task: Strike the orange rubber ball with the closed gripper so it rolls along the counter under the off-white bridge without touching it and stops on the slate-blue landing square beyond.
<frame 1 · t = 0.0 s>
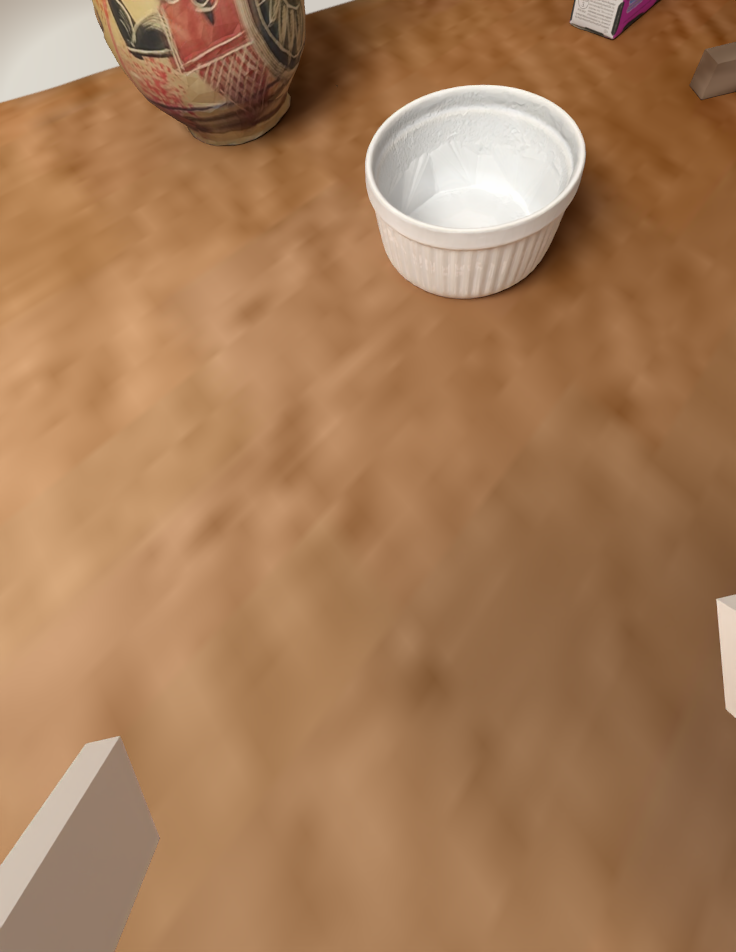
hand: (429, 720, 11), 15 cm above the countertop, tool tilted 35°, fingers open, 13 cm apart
candy bar box: (622, 7, 46), on the countertop
ceramic jug: (247, 117, 45), on the countertop
ramekin: (463, 246, 37), on the countertop
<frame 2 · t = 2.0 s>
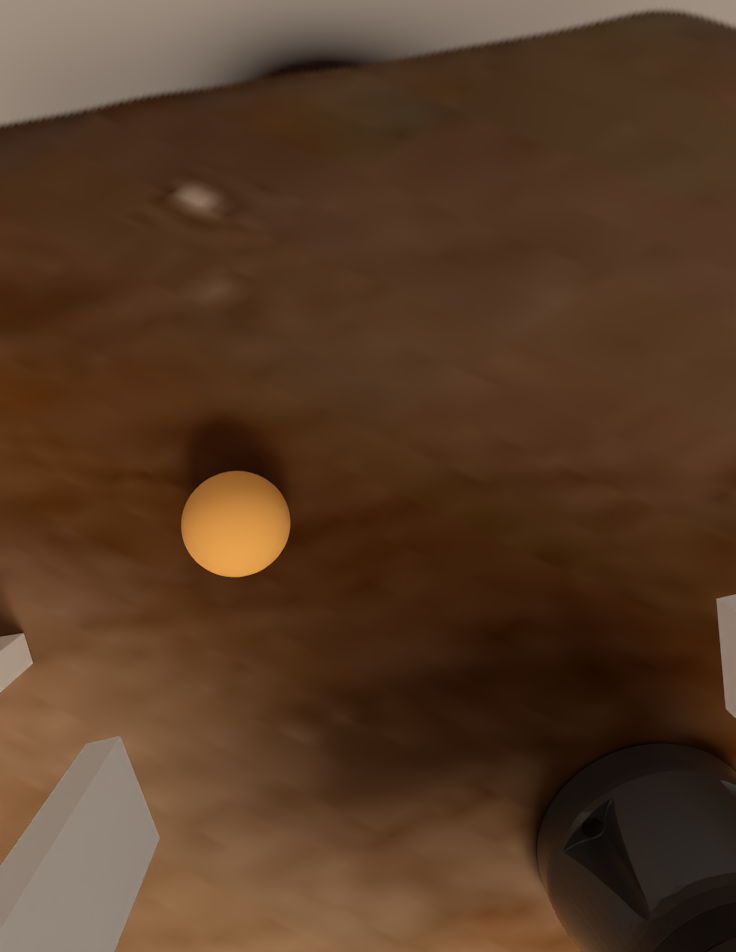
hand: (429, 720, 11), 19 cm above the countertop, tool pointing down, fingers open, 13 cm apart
ball: (237, 523, 26), on the countertop
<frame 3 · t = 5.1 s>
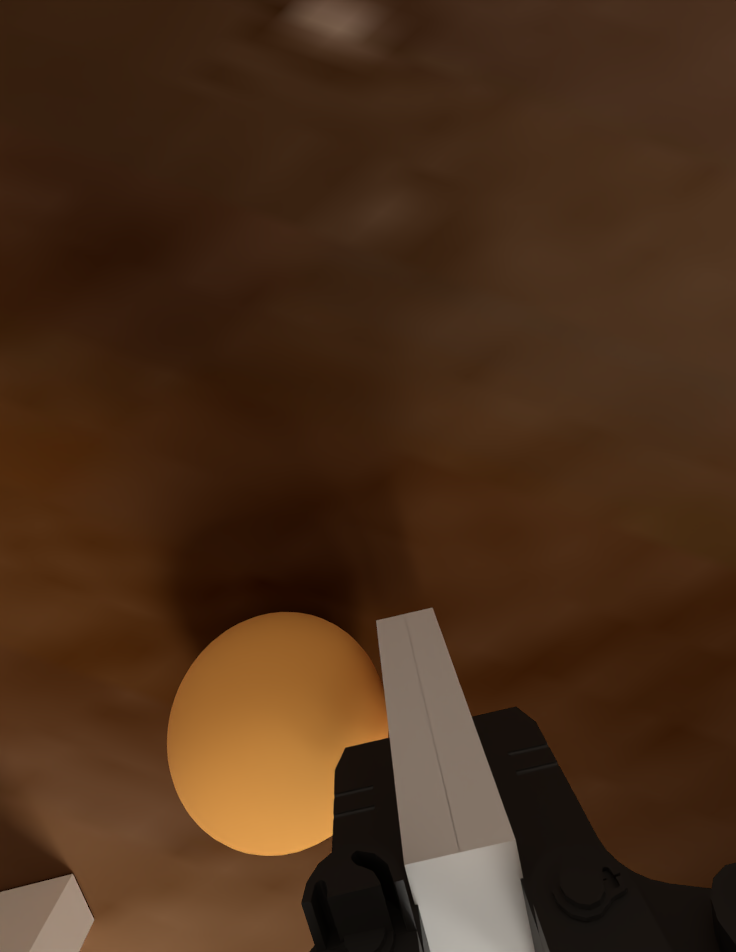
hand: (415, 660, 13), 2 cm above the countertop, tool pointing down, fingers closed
ball: (281, 722, 13), on the countertop
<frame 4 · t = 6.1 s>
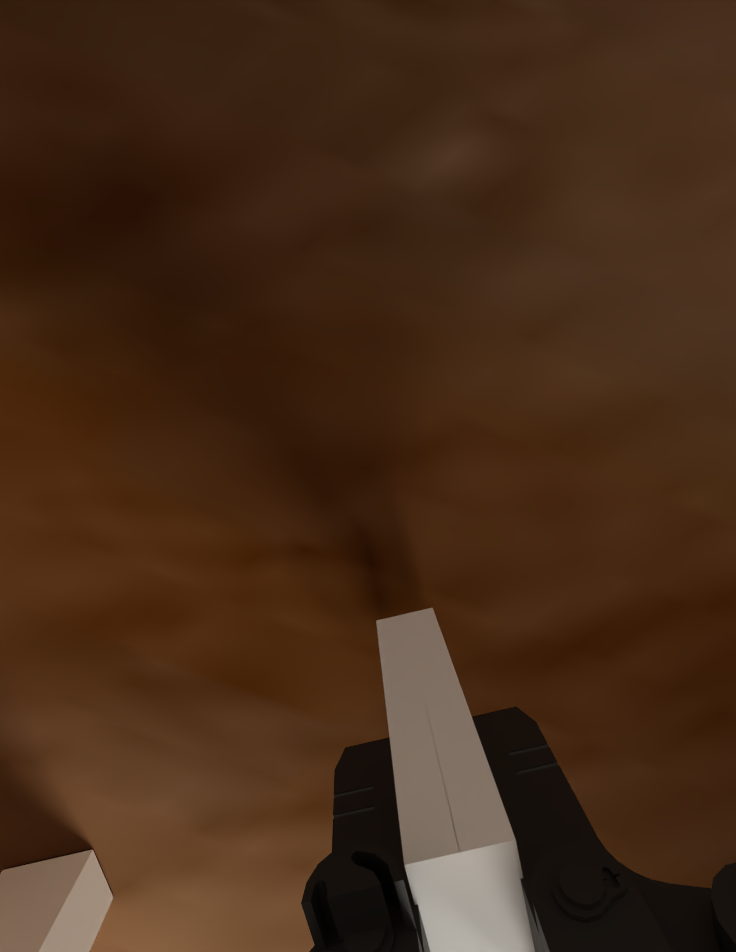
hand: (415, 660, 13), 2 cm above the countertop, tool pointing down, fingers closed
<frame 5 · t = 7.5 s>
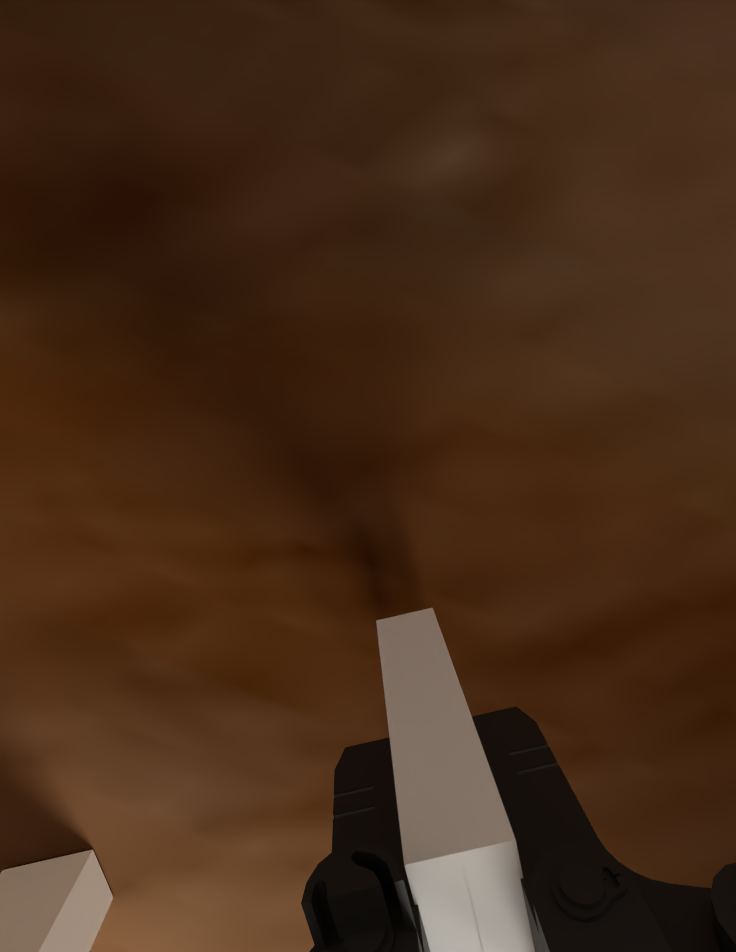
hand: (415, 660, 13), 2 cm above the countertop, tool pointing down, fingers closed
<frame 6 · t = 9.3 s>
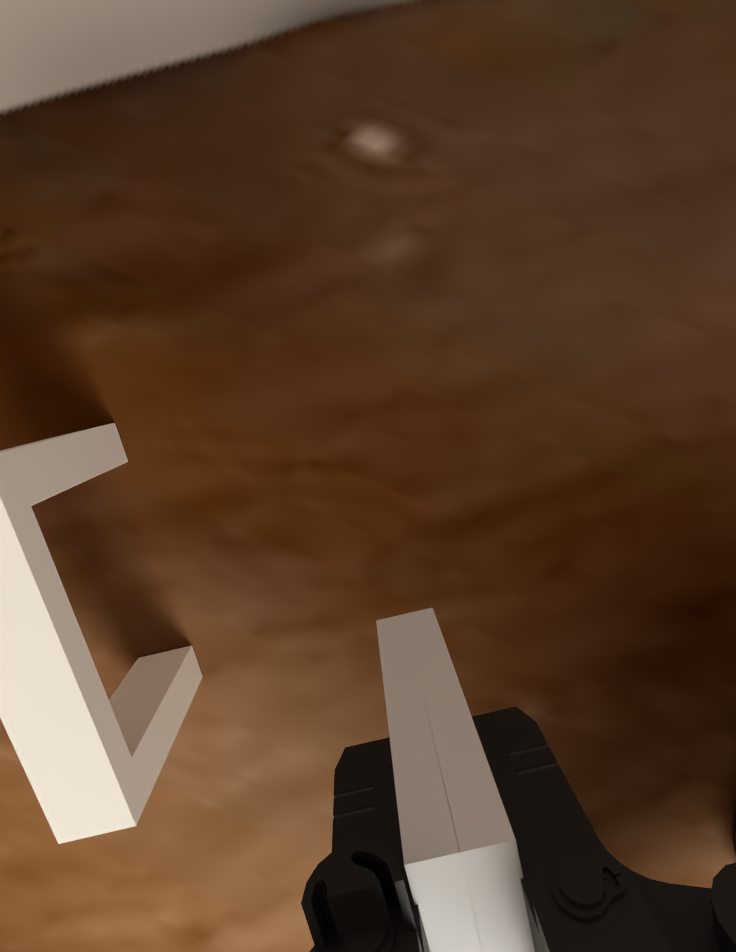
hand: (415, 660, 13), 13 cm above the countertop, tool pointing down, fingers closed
bridge: (133, 564, 26), on the countertop
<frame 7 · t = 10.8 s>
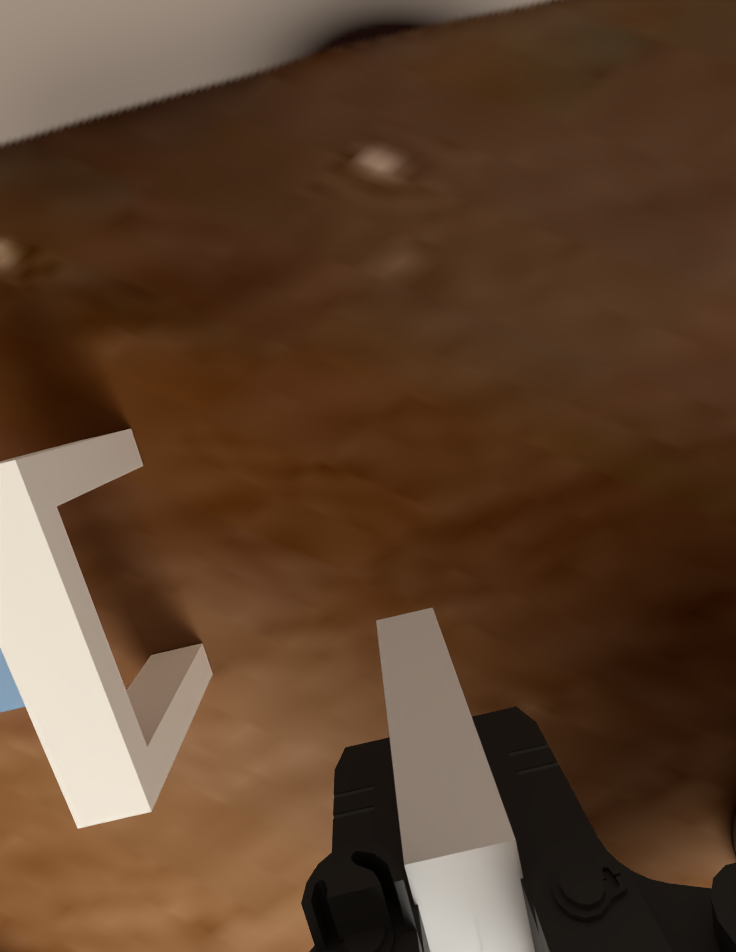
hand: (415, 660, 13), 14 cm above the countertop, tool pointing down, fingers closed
bridge: (147, 564, 27), on the countertop
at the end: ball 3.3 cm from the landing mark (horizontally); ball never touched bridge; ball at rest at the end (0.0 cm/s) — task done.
